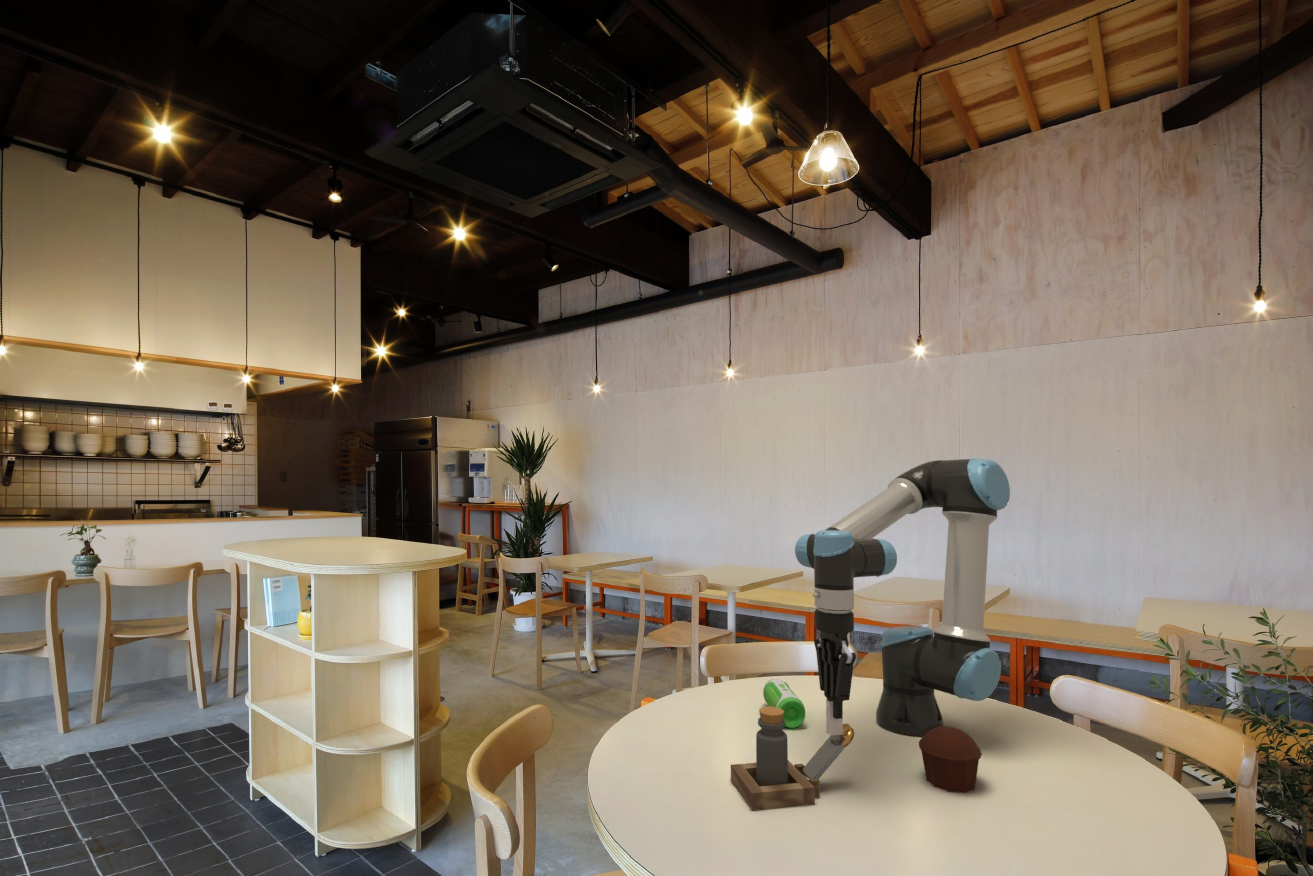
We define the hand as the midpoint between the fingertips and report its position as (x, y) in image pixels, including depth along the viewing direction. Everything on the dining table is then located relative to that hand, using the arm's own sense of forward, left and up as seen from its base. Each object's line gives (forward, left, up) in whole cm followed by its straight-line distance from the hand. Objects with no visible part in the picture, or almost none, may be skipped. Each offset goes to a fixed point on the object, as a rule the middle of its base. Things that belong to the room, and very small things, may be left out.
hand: (834, 733), depth 125 cm
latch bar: (+1, 0, -4) cm, 4 cm away
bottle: (+13, 0, -10) cm, 16 cm away
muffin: (-23, +3, -10) cm, 25 cm away
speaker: (-5, -37, -10) cm, 39 cm away
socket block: (+13, 0, -10) cm, 16 cm away
